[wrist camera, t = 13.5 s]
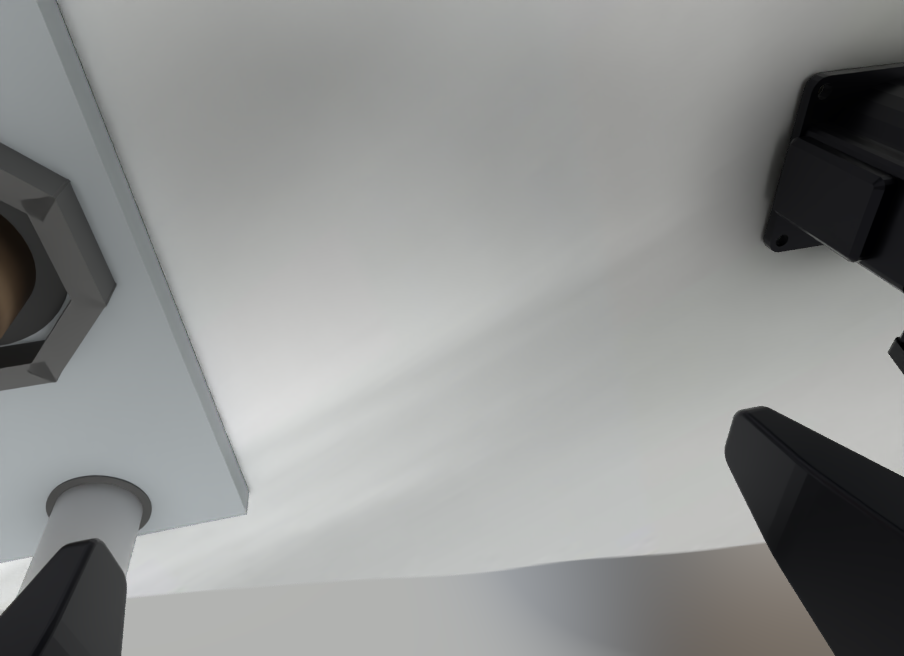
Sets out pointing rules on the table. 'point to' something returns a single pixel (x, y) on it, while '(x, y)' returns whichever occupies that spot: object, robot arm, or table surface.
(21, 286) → the brown tall cylinder
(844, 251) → the robot arm
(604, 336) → the table surface
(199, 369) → the plate
